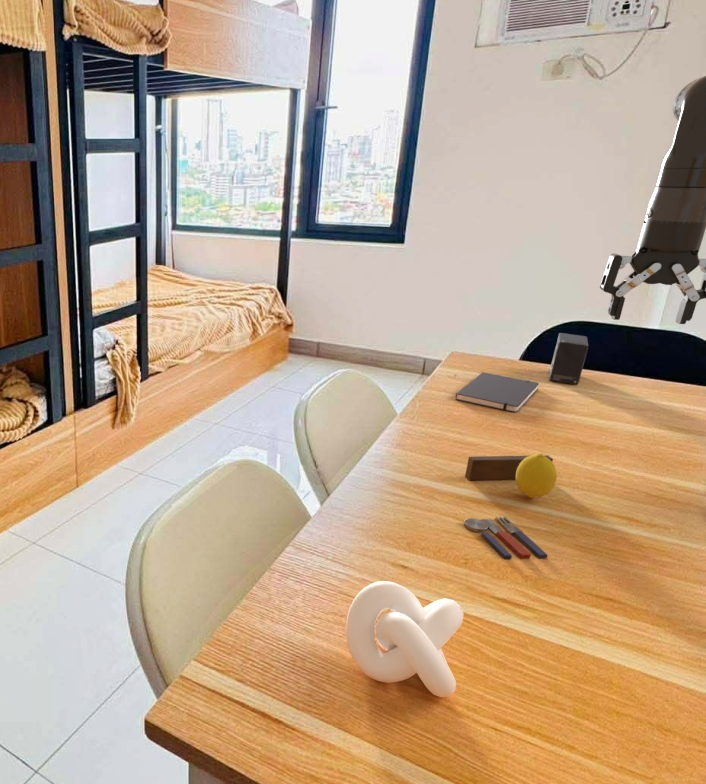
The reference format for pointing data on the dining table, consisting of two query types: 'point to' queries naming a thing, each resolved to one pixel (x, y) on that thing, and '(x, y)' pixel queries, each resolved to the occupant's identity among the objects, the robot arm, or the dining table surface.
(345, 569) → the dining table surface
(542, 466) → the lemon
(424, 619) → the white knot sculpture
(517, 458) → the back rail
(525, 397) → the notebook
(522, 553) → the cutlery
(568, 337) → the small box
